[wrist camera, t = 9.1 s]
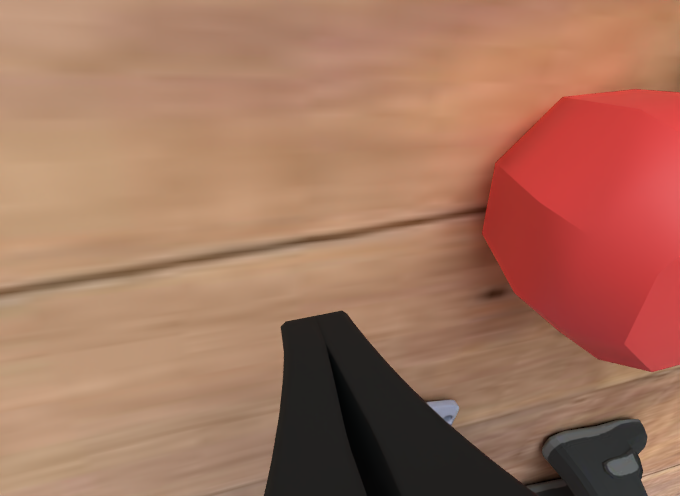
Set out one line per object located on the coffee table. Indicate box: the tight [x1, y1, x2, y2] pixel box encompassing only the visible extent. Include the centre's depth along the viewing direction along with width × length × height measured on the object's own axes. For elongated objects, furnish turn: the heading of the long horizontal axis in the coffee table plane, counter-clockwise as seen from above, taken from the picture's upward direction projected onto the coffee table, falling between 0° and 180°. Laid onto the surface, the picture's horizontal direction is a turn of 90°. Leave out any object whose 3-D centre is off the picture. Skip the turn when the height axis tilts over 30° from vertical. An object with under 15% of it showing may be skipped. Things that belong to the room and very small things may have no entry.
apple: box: [482, 89, 680, 372], centre depth 13 cm, size 8×8×8 cm
